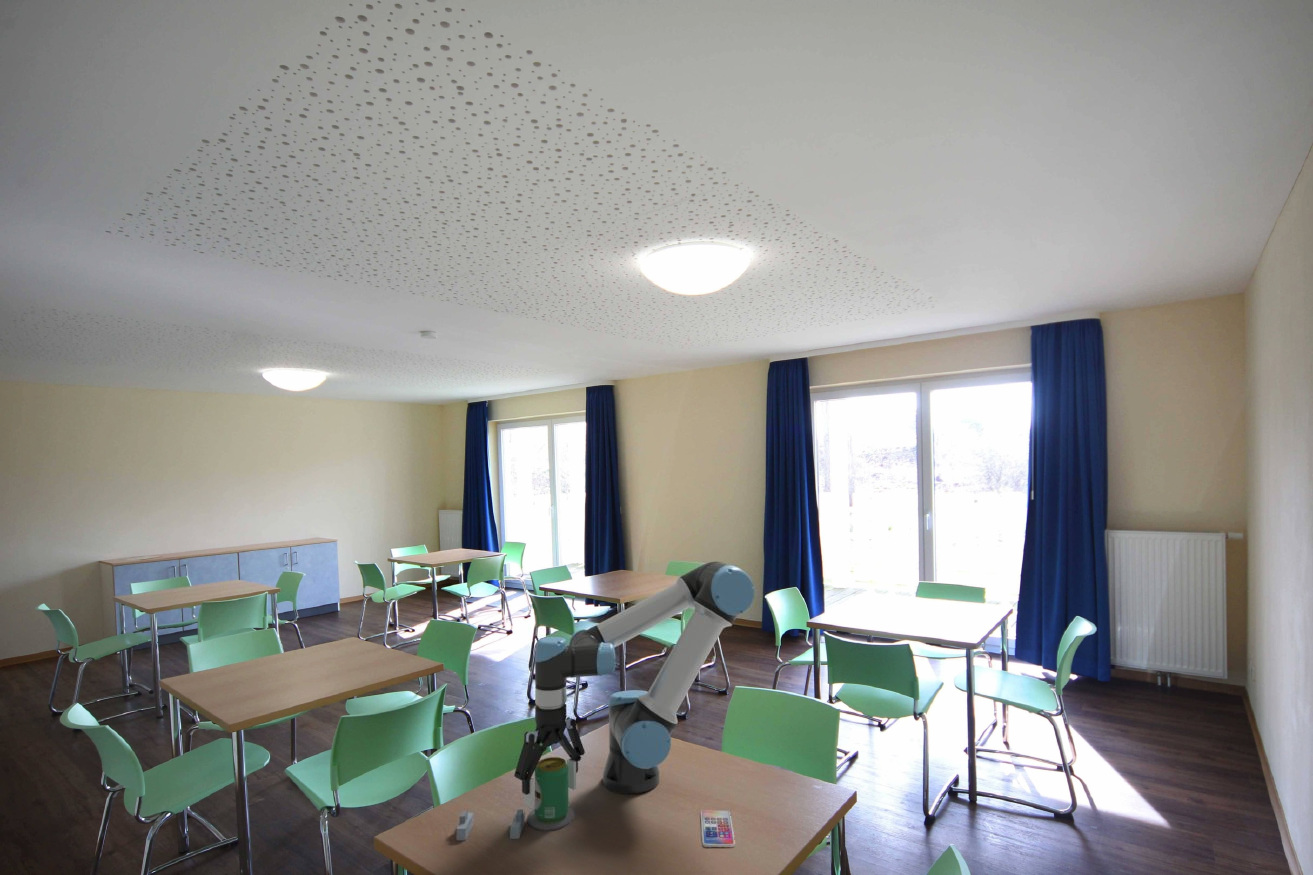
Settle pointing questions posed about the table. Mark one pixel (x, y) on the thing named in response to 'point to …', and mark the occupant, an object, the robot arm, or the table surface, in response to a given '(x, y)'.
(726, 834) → the smartphone
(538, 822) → the coaster
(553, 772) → the beverage can
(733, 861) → the table surface
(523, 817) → the twin notched blocks
